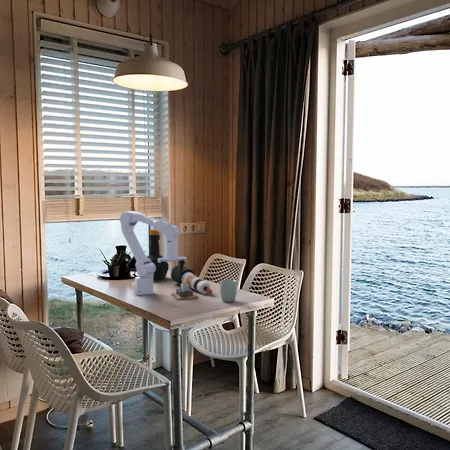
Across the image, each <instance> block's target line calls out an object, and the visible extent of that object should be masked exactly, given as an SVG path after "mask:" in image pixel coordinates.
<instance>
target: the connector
mask: <svg viewBox="0 0 450 450" xmlns="http://www.w3.org/2000/svg"><path fill="white" fill-rule="evenodd" d="M180 288H181V291H189V288H190V287H189V285H188V284H187V281H183V283H182V284H181V285H180Z"/></svg>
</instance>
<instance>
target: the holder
mask: <svg viewBox="0 0 450 450" xmlns="http://www.w3.org/2000/svg"><path fill="white" fill-rule="evenodd" d="M170 296H172V297H173V298H174V299H175V300H176V301H181V300H183V301H184V300H194V299H199V296H198V295H197V294H196V293H194V290H192V288H190V287H189V291H181V287H179V288H176V289H175V292H171V293H170Z"/></svg>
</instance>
